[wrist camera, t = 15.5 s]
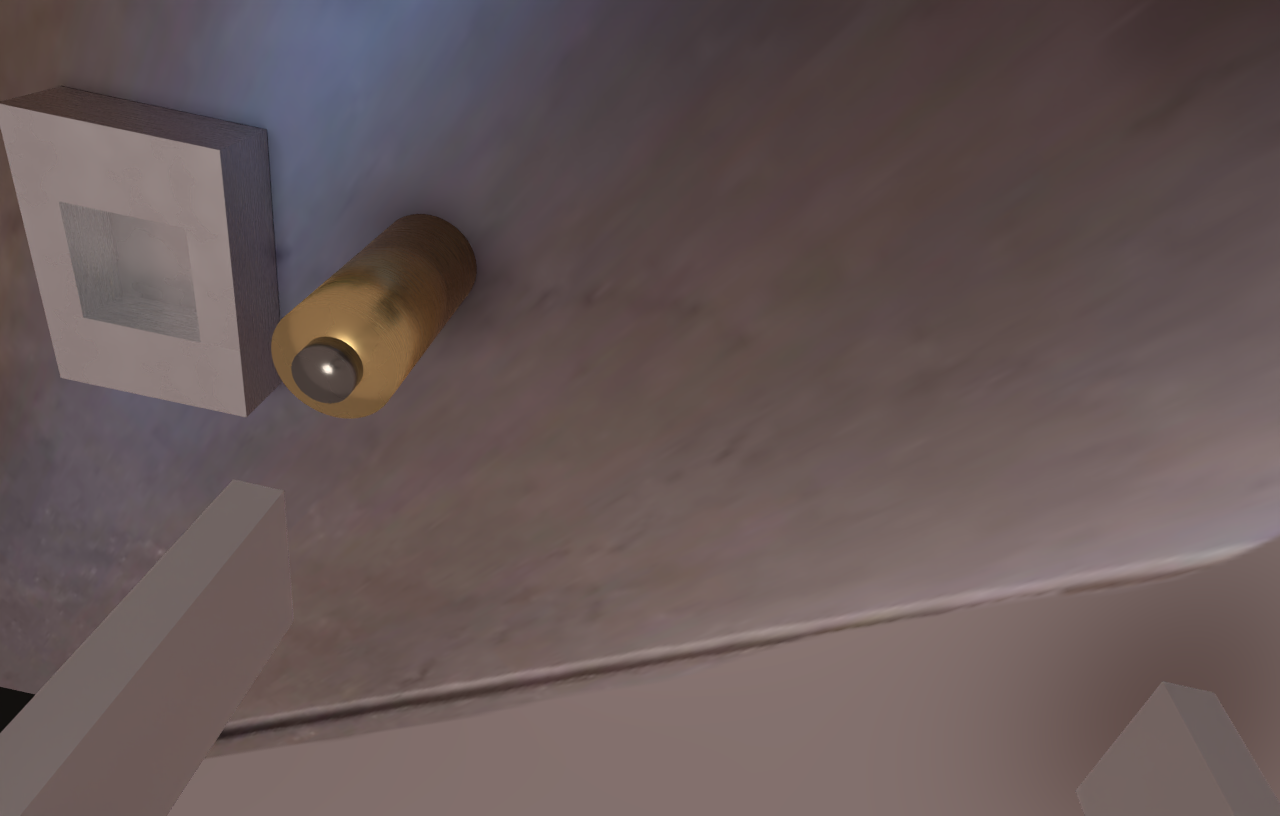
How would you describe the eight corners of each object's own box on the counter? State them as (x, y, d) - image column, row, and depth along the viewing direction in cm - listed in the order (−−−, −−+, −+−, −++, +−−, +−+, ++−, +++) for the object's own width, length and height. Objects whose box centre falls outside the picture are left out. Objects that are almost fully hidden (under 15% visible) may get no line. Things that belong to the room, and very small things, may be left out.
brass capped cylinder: (380, 204, 40) (252, 303, 29) (479, 225, 40) (386, 332, 29) (380, 296, 42) (262, 417, 32) (473, 316, 42) (385, 443, 32)
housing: (61, 86, 38) (-6, 102, 35) (266, 129, 38) (219, 150, 35) (111, 343, 46) (60, 377, 42) (283, 380, 46) (246, 417, 42)
